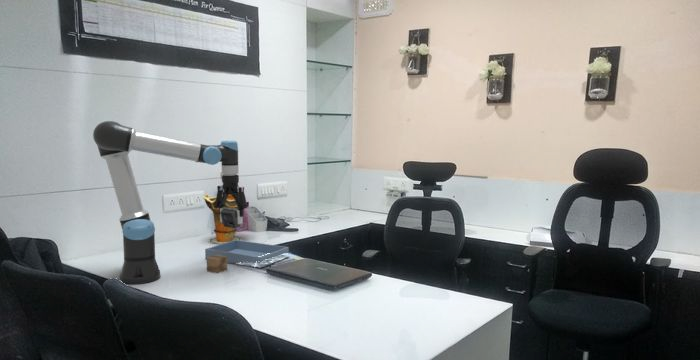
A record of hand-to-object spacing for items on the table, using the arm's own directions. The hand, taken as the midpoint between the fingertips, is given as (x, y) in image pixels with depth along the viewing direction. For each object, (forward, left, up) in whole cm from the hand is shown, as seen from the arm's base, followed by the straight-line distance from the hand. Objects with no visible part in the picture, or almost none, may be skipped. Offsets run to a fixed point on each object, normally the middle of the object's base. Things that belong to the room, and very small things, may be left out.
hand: (231, 222), depth 224 cm
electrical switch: (0, 0, -2) cm, 2 cm away
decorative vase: (+31, +31, -18) cm, 47 cm away
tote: (+7, -3, -18) cm, 20 cm away
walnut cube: (-15, -4, -18) cm, 24 cm away
